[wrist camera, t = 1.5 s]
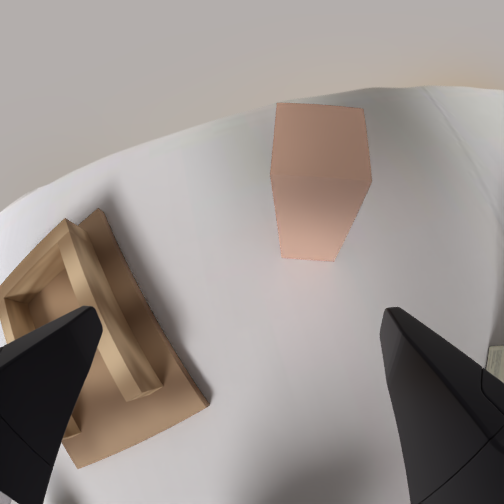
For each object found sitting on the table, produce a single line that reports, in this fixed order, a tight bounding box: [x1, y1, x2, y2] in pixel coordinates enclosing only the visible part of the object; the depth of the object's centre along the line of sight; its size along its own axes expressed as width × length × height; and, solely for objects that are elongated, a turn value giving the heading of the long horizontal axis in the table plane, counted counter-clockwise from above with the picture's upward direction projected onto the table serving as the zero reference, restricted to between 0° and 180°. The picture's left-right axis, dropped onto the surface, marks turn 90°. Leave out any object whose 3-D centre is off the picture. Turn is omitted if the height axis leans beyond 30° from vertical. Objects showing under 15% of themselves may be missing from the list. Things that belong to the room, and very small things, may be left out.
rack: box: [0, 208, 209, 469], centre depth 21 cm, size 20×16×4 cm
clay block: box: [270, 103, 372, 262], centre depth 17 cm, size 4×4×12 cm
